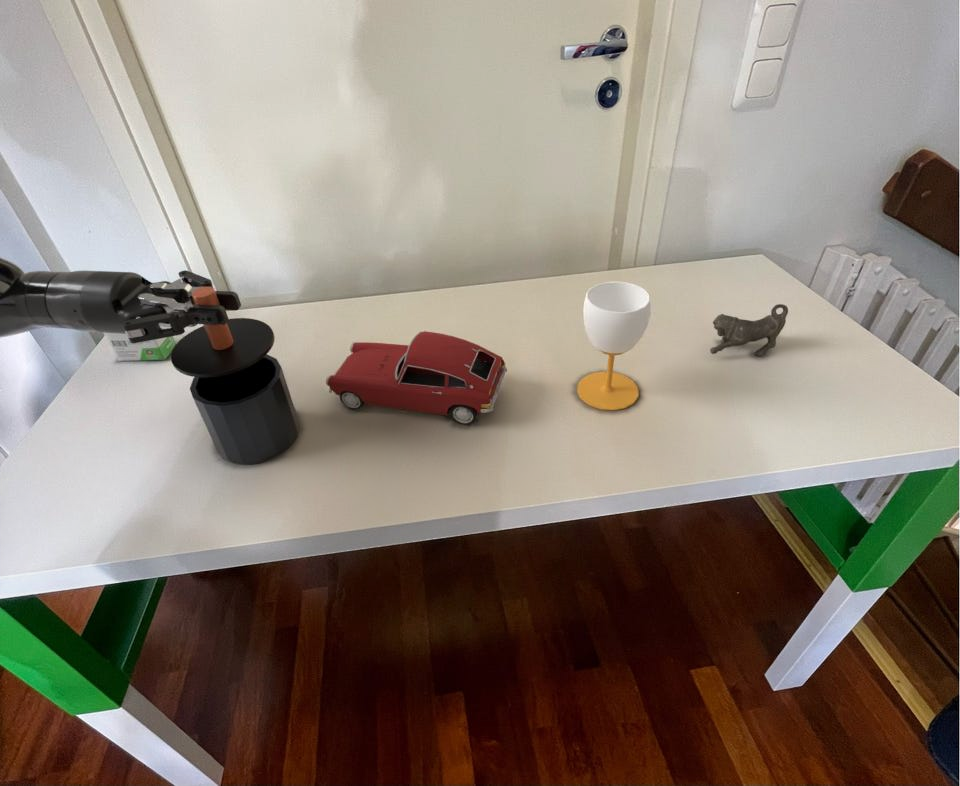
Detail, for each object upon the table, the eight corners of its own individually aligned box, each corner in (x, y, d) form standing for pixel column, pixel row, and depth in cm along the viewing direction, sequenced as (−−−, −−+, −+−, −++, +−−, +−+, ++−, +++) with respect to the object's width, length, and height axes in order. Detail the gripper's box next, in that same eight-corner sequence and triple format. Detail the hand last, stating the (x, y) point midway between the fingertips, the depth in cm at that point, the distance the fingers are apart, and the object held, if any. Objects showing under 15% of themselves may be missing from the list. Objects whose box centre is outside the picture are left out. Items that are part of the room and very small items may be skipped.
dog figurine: (767, 334, 98) (780, 294, 93) (785, 354, 93) (798, 313, 89) (696, 341, 97) (705, 301, 93) (710, 361, 93) (720, 321, 88)
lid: (162, 387, 70) (132, 326, 65) (186, 331, 79) (161, 273, 74) (270, 374, 71) (249, 312, 66) (280, 319, 81) (263, 262, 75)
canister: (209, 470, 80) (181, 411, 73) (224, 415, 88) (200, 358, 82) (296, 458, 81) (275, 398, 74) (302, 405, 89) (284, 347, 83)
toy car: (357, 365, 97) (345, 312, 90) (509, 383, 91) (507, 328, 85) (327, 408, 89) (312, 353, 82) (492, 431, 83) (489, 374, 77)
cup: (573, 374, 92) (578, 281, 82) (631, 371, 92) (644, 278, 82) (581, 412, 85) (588, 316, 75) (645, 409, 85) (661, 312, 75)
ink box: (178, 344, 104) (151, 284, 97) (164, 361, 100) (136, 300, 93) (131, 344, 105) (101, 285, 97) (116, 361, 101) (83, 300, 93)
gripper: (46, 305, 66) (190, 311, 63) (123, 248, 76) (249, 252, 74) (78, 359, 70) (213, 368, 68) (147, 299, 81) (265, 305, 78)
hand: (231, 308), depth 71 cm, fingers closed on lid, 2 cm apart
